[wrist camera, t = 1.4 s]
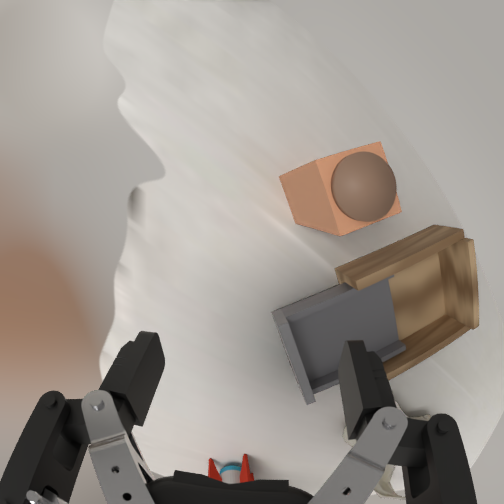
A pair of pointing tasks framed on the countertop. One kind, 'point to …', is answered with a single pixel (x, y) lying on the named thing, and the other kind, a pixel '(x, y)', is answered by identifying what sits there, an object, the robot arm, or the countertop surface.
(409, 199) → the countertop surface
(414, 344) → the dock
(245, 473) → the toy rocket
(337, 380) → the tray
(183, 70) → the countertop surface
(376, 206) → the tin
